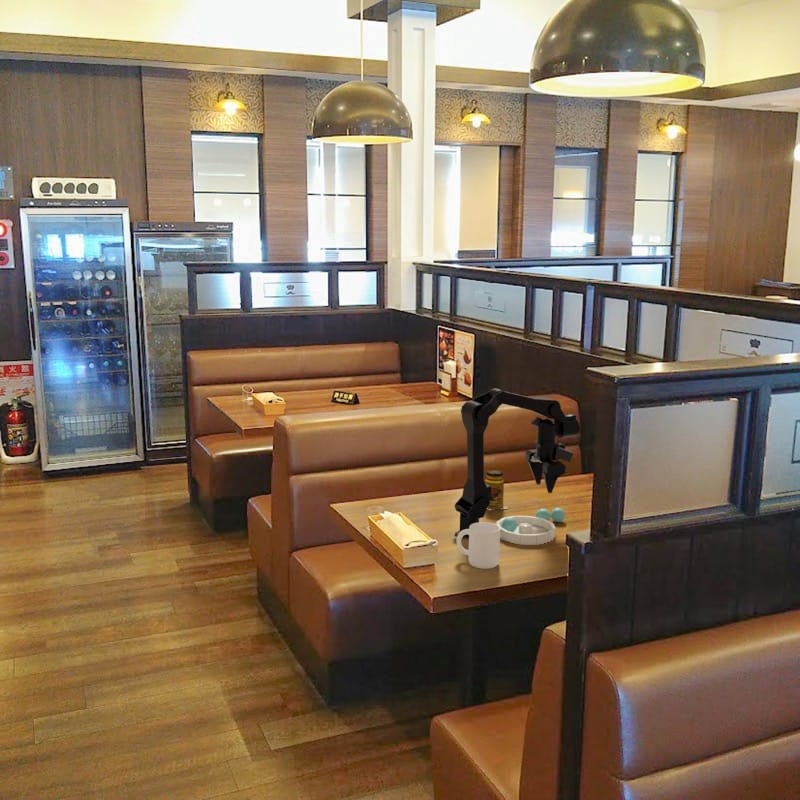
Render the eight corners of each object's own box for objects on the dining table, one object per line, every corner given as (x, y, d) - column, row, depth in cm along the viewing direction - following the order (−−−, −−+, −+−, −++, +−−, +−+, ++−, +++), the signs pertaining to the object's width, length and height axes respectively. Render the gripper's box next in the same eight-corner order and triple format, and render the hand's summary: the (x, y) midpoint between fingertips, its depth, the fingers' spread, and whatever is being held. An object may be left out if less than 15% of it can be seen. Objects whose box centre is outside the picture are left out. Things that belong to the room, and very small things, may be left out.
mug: (450, 563, 228) (451, 527, 226) (461, 553, 235) (462, 518, 233) (493, 571, 223) (494, 534, 221) (502, 560, 230) (504, 524, 228)
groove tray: (540, 549, 239) (540, 539, 238) (486, 537, 248) (486, 527, 247) (563, 532, 253) (563, 522, 252) (511, 521, 262) (511, 512, 261)
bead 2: (546, 526, 258) (547, 512, 257) (533, 523, 260) (533, 509, 259) (552, 522, 262) (552, 508, 261) (538, 519, 264) (539, 505, 263)
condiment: (487, 511, 271) (489, 475, 269) (477, 503, 279) (478, 468, 277) (508, 509, 274) (510, 473, 271) (498, 501, 282) (499, 466, 279)
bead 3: (561, 525, 259) (562, 511, 258) (548, 522, 261) (548, 508, 261) (567, 521, 263) (567, 507, 262) (553, 518, 265) (554, 505, 264)
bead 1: (512, 535, 247) (513, 521, 246) (499, 532, 250) (499, 518, 249) (519, 531, 251) (519, 517, 250) (505, 528, 253) (506, 514, 252)
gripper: (584, 445, 249) (581, 496, 252) (559, 431, 266) (556, 478, 270) (548, 447, 246) (546, 498, 249) (525, 432, 264) (523, 480, 267)
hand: (544, 488), depth 259 cm, fingers open, 9 cm apart
